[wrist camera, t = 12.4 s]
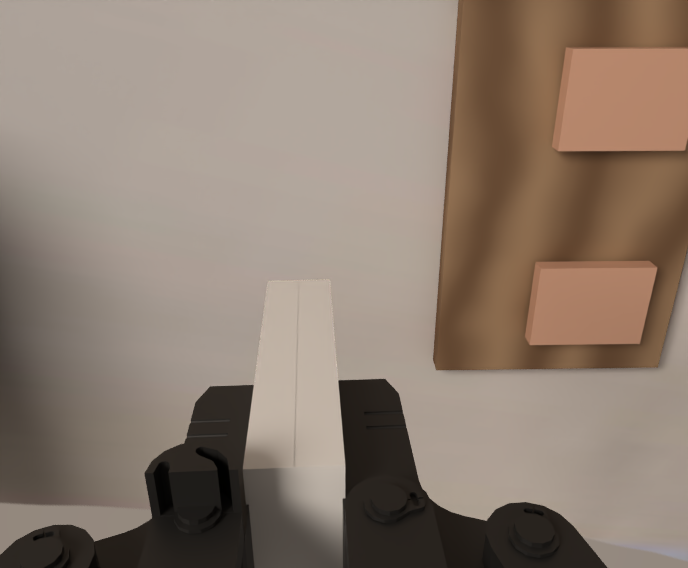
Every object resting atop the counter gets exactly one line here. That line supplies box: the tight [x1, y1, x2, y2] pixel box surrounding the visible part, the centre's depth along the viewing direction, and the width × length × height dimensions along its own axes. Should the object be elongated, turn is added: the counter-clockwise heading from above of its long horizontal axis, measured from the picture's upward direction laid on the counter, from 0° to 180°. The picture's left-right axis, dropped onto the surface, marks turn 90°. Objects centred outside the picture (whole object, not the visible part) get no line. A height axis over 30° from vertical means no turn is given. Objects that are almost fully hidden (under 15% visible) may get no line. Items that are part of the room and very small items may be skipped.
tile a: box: [525, 261, 657, 345], centre depth 44 cm, size 2×6×8 cm
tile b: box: [552, 47, 688, 151], centre depth 38 cm, size 2×6×8 cm
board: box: [433, 0, 688, 370], centre depth 43 cm, size 17×26×2 cm, turn 0°
